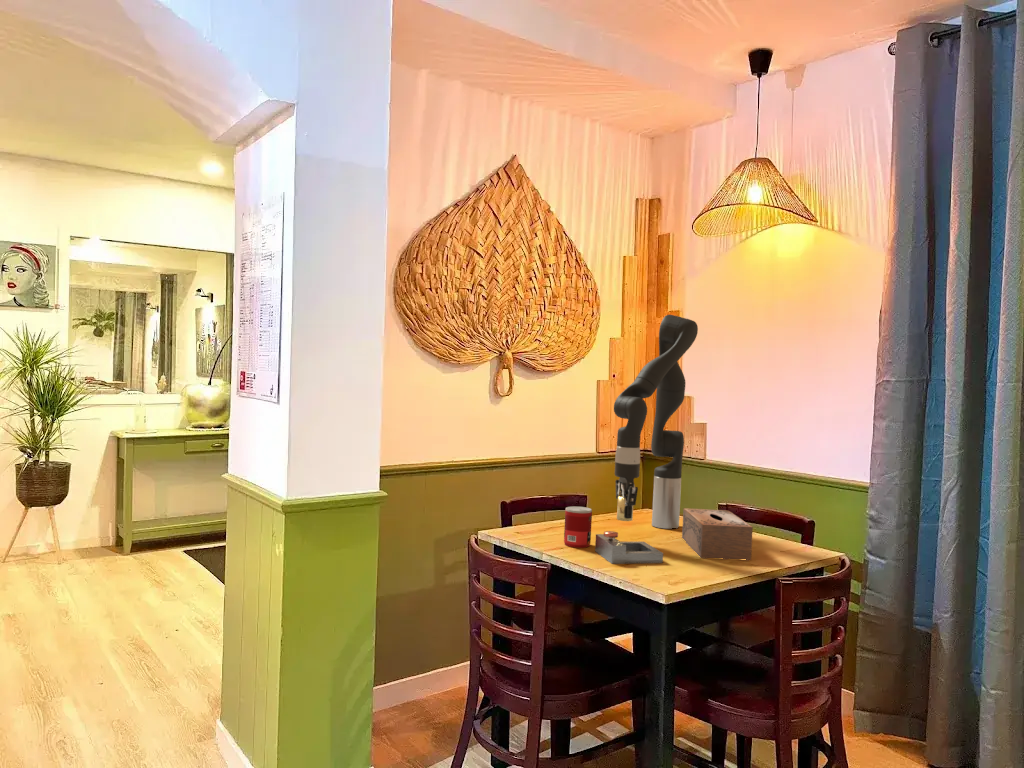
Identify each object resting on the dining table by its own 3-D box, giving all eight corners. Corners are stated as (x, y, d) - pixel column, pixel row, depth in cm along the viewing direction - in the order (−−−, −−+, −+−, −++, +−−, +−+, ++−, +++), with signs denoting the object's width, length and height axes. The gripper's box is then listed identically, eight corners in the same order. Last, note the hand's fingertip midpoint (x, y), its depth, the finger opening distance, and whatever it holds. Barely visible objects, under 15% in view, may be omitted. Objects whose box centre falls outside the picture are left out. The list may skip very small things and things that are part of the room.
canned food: (593, 548, 227) (595, 511, 227) (567, 548, 226) (568, 510, 226) (586, 542, 235) (588, 506, 235) (561, 542, 233) (562, 506, 233)
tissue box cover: (750, 561, 221) (752, 527, 220) (700, 559, 221) (702, 524, 221) (726, 541, 246) (728, 510, 246) (681, 539, 247) (683, 508, 246)
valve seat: (595, 551, 223) (596, 527, 223) (643, 550, 226) (644, 527, 226) (611, 563, 209) (612, 538, 209) (662, 563, 213) (663, 538, 213)
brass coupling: (614, 517, 237) (615, 495, 237) (629, 517, 238) (630, 495, 238) (619, 521, 233) (620, 498, 232) (634, 521, 234) (635, 498, 233)
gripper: (647, 465, 228) (644, 521, 229) (631, 458, 242) (628, 511, 243) (623, 464, 227) (620, 521, 228) (608, 457, 241) (605, 511, 242)
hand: (624, 515), depth 235 cm, fingers closed on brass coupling, 4 cm apart
